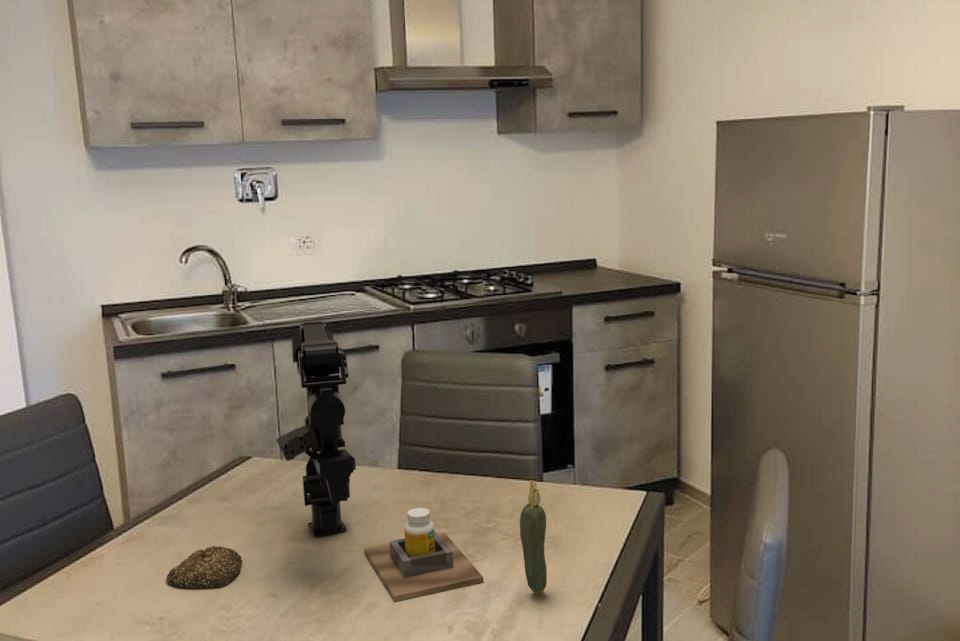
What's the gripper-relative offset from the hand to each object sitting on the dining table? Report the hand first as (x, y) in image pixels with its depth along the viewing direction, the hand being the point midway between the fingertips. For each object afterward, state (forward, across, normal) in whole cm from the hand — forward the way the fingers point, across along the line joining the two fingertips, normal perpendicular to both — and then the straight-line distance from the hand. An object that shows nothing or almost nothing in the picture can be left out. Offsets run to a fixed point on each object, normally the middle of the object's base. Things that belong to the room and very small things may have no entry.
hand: (329, 494), depth 158 cm
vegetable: (+13, +27, +28) cm, 41 cm away
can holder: (+13, +9, +14) cm, 21 cm away
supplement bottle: (+12, +9, +14) cm, 21 cm away
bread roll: (+14, -6, -22) cm, 26 cm away
